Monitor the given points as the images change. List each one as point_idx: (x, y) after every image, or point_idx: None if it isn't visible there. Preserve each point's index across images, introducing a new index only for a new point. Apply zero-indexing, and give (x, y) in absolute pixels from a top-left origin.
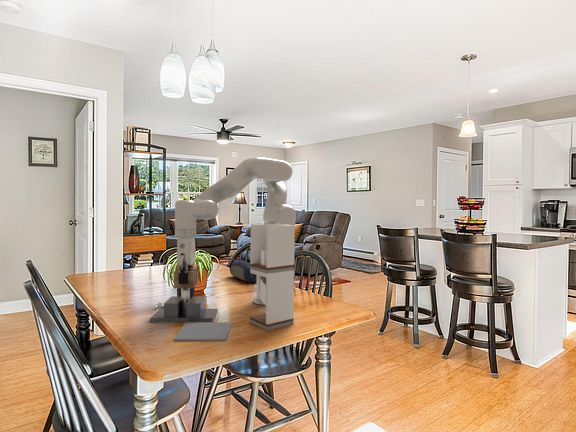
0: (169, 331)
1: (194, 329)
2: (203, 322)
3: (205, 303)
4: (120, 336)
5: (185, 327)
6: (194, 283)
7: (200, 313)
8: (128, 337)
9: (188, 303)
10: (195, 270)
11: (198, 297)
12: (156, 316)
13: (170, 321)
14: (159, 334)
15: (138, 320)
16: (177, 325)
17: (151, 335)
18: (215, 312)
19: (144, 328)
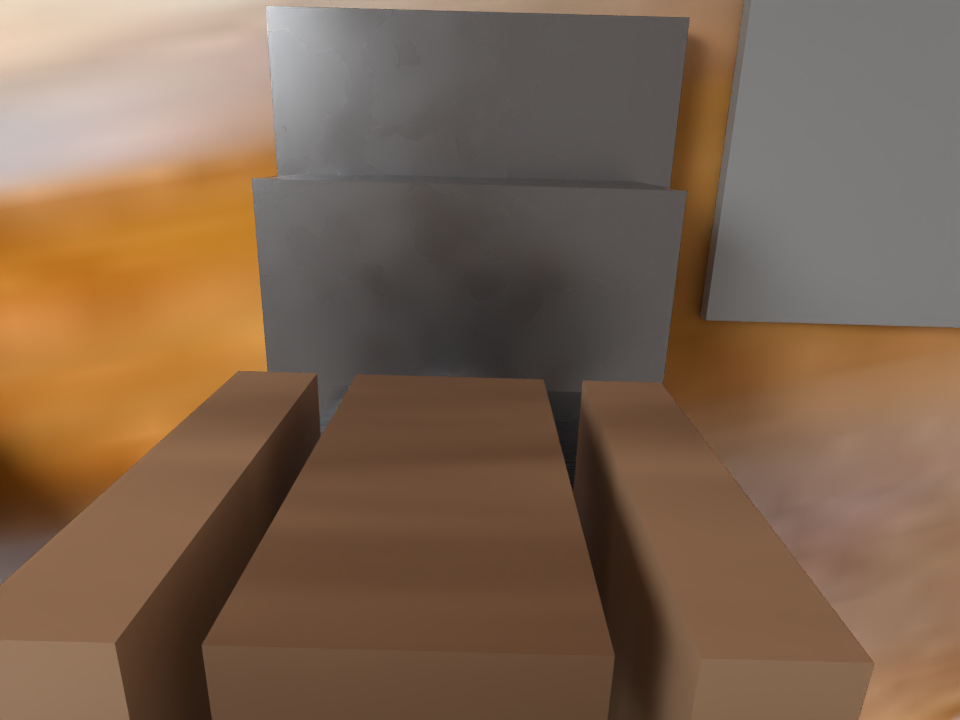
0: (885, 417)
1: (953, 188)
2: (733, 128)
3: (298, 175)
4: (916, 717)
5: (869, 292)
6: (548, 413)
7: (647, 184)
8: (953, 665)
9: (664, 366)
10: (402, 627)
11: (324, 284)
12: None
13: None
14: (944, 478)
15: None
16: (725, 385)
17: (952, 530)
18: (448, 13)
19: None
